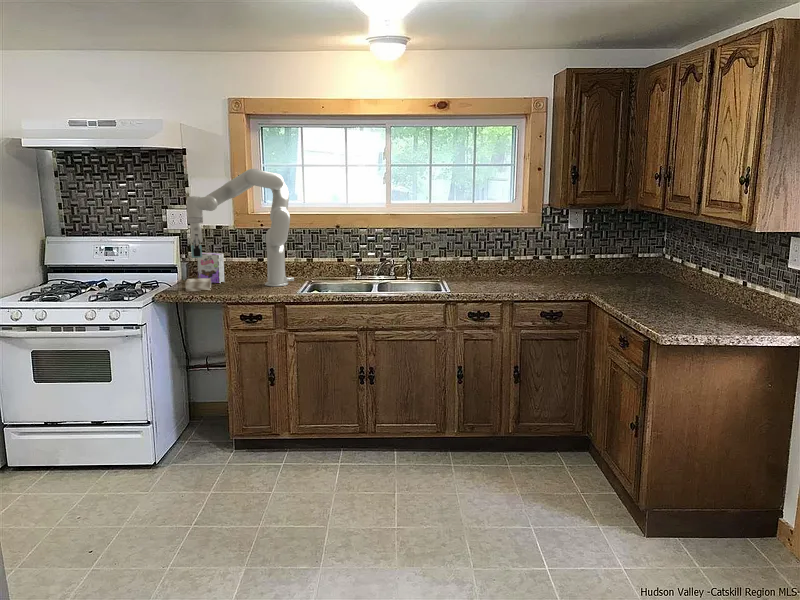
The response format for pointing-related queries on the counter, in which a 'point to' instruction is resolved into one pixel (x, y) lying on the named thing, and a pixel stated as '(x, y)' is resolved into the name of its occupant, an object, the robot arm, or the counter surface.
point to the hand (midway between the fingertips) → (196, 255)
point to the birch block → (198, 284)
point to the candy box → (211, 267)
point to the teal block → (193, 252)
